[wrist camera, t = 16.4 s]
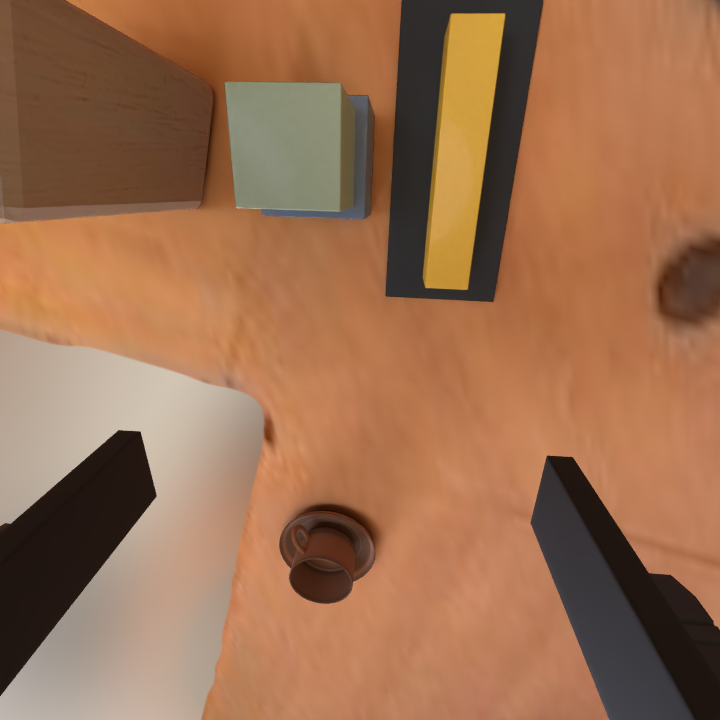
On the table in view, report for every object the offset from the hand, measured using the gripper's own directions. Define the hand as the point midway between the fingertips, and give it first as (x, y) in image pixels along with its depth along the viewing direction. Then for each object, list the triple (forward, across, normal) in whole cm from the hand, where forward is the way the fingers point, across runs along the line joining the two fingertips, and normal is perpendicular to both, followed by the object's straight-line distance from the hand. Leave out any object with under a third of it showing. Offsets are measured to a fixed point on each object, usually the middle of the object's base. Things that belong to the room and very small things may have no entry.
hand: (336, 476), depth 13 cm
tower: (+27, -4, +10) cm, 29 cm away
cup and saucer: (+27, -5, -32) cm, 42 cm away
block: (+27, -19, +13) cm, 36 cm away
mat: (+27, +6, +10) cm, 29 cm away
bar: (+26, +6, +10) cm, 29 cm away
